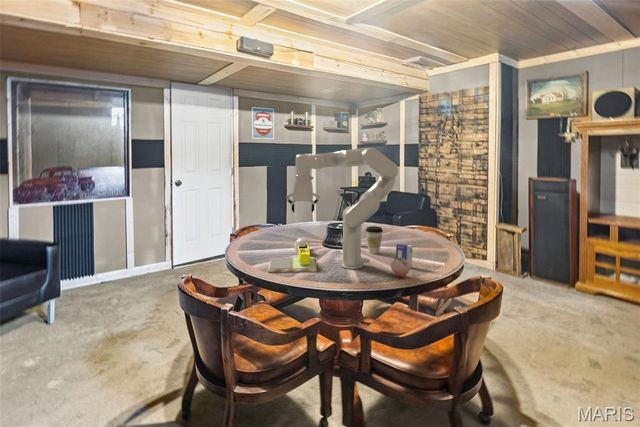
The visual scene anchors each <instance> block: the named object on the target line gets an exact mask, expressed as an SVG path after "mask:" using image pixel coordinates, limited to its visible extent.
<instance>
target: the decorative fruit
mask: <svg viewBox="0 0 640 427" xmlns="http://www.w3.org/2000/svg"><path fill="white" fill-rule="evenodd" d="M390 268H391V271H392V272H393V273H394V274H395V276H397V277H399V278H401V277H402V278H403V277H404V276H406V275H408V274H409V272H410V270H411V268H410V264H409V262H408V261H407V260H405V259H401V258H396V257H395V258H394V260H392V261H391V263H390Z"/></svg>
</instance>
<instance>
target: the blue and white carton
mask: <svg viewBox="0 0 640 427" xmlns="http://www.w3.org/2000/svg"><path fill="white" fill-rule="evenodd" d="M395 249H396V250H395V258H401V259H405V260H407V261H408V262H409V264H410V269H411V268H412V266H413V263H412V262H413V245H412V244H405V243H397V244H396V247H395Z"/></svg>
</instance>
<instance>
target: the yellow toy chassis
mask: <svg viewBox="0 0 640 427" xmlns="http://www.w3.org/2000/svg"><path fill="white" fill-rule="evenodd" d="M296 252H297V257H298V258H299V259H298V260H299V262H300V264H302V265H307V264H310V257H311V256H310V255H311V252H310V249H309V247H308V244H306V245H305V246H302V247H299V246H298V251H296Z"/></svg>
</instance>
